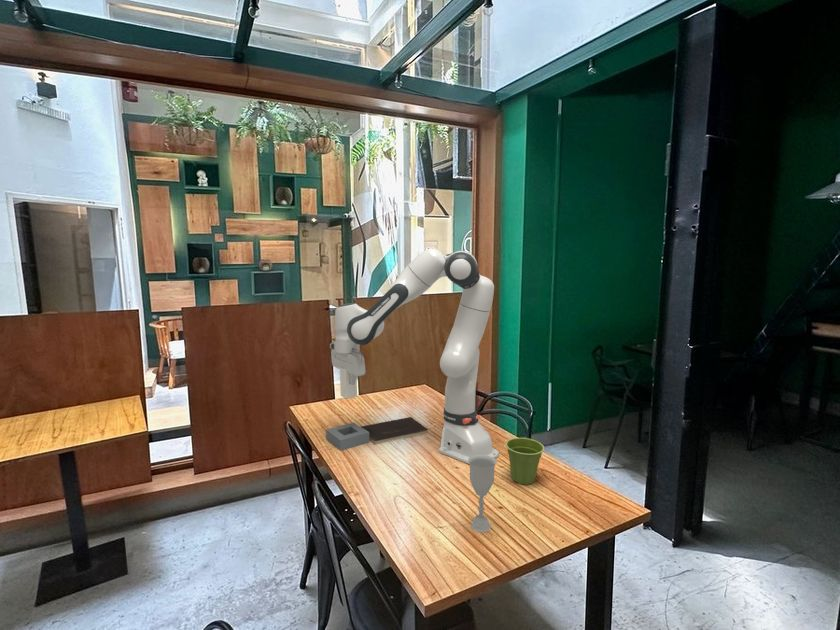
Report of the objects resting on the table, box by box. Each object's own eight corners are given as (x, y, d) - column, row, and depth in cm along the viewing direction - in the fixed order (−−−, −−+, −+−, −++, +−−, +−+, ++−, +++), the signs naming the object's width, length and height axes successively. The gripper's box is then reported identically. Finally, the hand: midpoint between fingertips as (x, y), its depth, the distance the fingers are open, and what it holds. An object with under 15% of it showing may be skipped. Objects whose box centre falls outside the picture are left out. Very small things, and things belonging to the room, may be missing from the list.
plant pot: (515, 491, 129) (516, 455, 127) (498, 472, 140) (499, 439, 138) (550, 486, 132) (552, 451, 130) (530, 468, 143) (531, 435, 142)
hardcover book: (428, 434, 171) (428, 429, 171) (374, 446, 161) (374, 440, 160) (410, 421, 185) (410, 416, 185) (359, 431, 175) (359, 425, 174)
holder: (369, 442, 163) (369, 432, 162) (340, 450, 156) (340, 440, 155) (354, 432, 172) (353, 422, 172) (326, 439, 165) (326, 429, 165)
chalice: (492, 518, 115) (493, 454, 113) (497, 534, 109) (499, 466, 106) (465, 518, 115) (466, 454, 113) (468, 534, 108) (469, 467, 106)
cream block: (357, 396, 162) (356, 367, 160) (346, 398, 159) (345, 369, 158) (351, 393, 165) (350, 365, 164) (340, 395, 162) (339, 367, 161)
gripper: (369, 350, 153) (370, 387, 155) (342, 341, 169) (343, 375, 171) (353, 352, 150) (354, 390, 151) (327, 343, 166) (329, 378, 167)
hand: (348, 382), depth 161 cm, fingers closed on cream block, 4 cm apart
